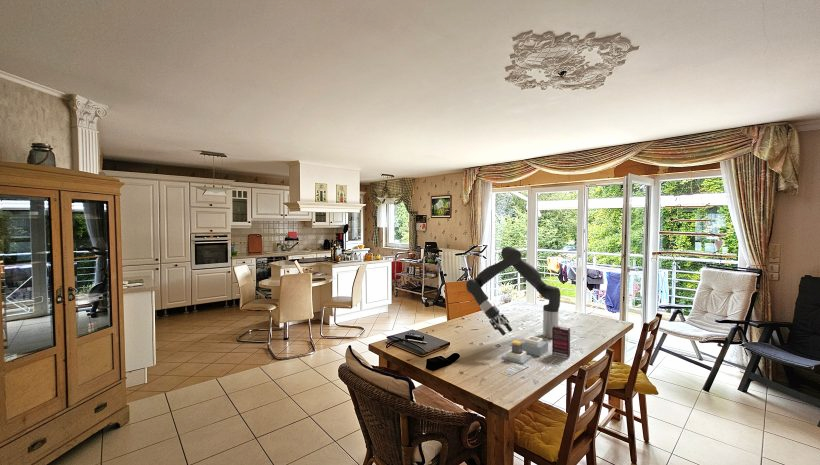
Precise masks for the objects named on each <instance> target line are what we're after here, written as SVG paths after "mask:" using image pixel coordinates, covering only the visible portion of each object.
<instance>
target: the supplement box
mask: <svg viewBox="0 0 820 465" xmlns="http://www.w3.org/2000/svg"><path fill="white" fill-rule="evenodd" d="M551 342H552V345H551V348H552V349H551V353H552V356H554V357H559V358H563V359H569V358H570V356H571V328H570V327H565V326H559V325H558V326H553V327H552V338H551Z"/></svg>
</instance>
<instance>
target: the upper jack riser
mask: <svg viewBox="0 0 820 465" xmlns="http://www.w3.org/2000/svg"><path fill="white" fill-rule="evenodd" d="M520 341H521V342H522V351H526V354H528V355H529V354H530V355H533V356H537V357H542V356H543V355H544V354H546V353H547V352H548V351H549V342H548V341H546V340H544V339H543V338H541V337H537V336H533V335H529V336H527V337H526V338H525V339H523V340H520Z"/></svg>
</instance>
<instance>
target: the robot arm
mask: <svg viewBox="0 0 820 465" xmlns="http://www.w3.org/2000/svg"><path fill="white" fill-rule="evenodd" d="M500 255H501V258H502V260H500V261H499V262H497V263H494V264H491V265H489V266H488V267H486V268H484V269H483V270H481V272H479V273H478V274H477V275H476V276H475V278H474V279H472V278H471V279H467V281H466V283H465V287H466V288H465V289H466V291H467V293H469V294H471V295H472V297H473V298H474V300H475V302H476V303H477V305H478V306H479V307H480V309H481V310H482V312H483V313H484V314H485V316H486V317H487V318H488V319H489V323H490V325H491V326H492V328H493V329H494V330H495V331H499V333H500V334H501V335H502V336H505V335H506V334H507V332H506V331H505V330H504V329H503V327H502V326H501V325H503V326H504V327H505V328H506V329H507V331H508V332H512V331H513V328H512V326H510V321H509V320H508V318H507V317H506V316H505V315H504V313H501V314H500V310H499V309H498V307H497V306H496V305H495V303H494V302H493V301H492V300H491V299H490V298H489V297H488V296H487V294H486V293H485V292H484V291H483V289H482V287H483V286H484V285H486V283H488V282H489V281H490V280H492V279H493V278H494V277H496V276H497V275H499V274H500V273H502V272H504V271H505V270H507V269H509V268H510V267H512V268H514V269H515V270H516V271H517V273H519V275H520V276H521V277H523V279H524V280H525V281H526V282H528V283H529V284H530V285H531V286H532V287H533V288H534V289H535V290H536V291H537V292H538V294H539V295H540V296H541V297H542V298H543V299H545V300H548V304H544V305H543V307H542V308H543V309H542V313H543V319H542V337H544V338H547V339H552V327H553V326H559V309H560V306H561V290H560V288H559V287H558V286H553V285H550V284H547V283H546V282H544V281H543V279H542V275H541V273H540V272H539V271H538V270H537V269H536V268H535V267H534V266H533V265H531V264H530V262H527V261H526V260H524V259H523V258H522V252H521V251H520V250H519V249H517V248H514V247H512V246H505V247H503V248H502V250H501V254H500Z"/></svg>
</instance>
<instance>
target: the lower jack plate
mask: <svg viewBox="0 0 820 465" xmlns="http://www.w3.org/2000/svg"><path fill="white" fill-rule="evenodd" d="M532 358H533V356H532V355H531V354H530V355H529V354H527V353H526V351H522V353H521V354H516V353H512V348H511V349H510V350H508V351H507V352H506V353H505V354H503V355H502V356H501V359H503V360H505V361H509V362H513V363H517V364H520V365H525V364H526V363H527V362H528V361H530V360H532Z"/></svg>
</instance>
